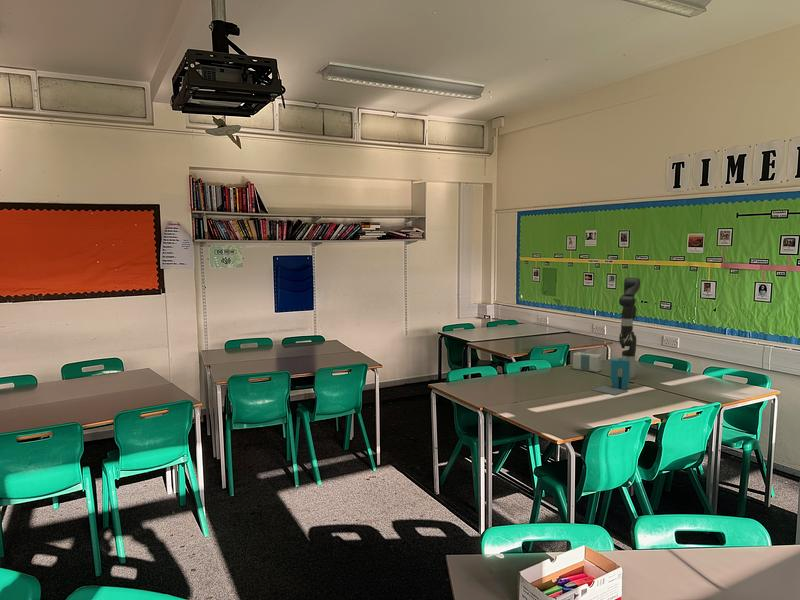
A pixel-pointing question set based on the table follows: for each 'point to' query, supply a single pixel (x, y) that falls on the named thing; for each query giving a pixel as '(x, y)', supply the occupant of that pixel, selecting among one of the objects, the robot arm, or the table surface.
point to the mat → (609, 390)
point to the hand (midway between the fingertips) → (626, 347)
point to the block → (625, 366)
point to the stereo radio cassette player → (587, 361)
